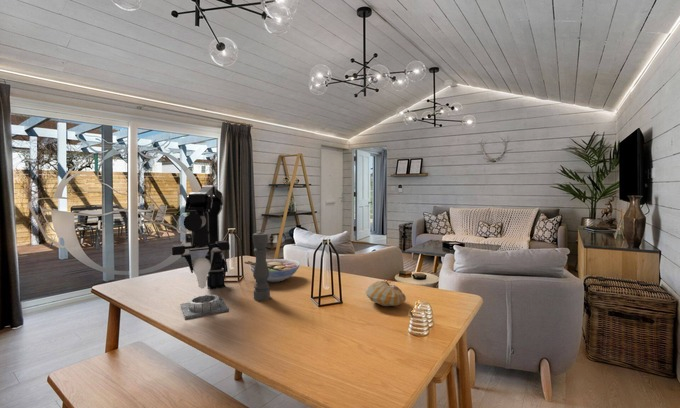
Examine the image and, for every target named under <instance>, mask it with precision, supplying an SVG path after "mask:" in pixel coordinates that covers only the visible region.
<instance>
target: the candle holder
mask: <svg viewBox="0 0 680 408" xmlns="http://www.w3.org/2000/svg"><path fill="white" fill-rule="evenodd" d="M268 233H269V232H268ZM268 233H267V232H255V233H253V234H252V243H253V246H254V249H253V253H254V254H255V262H256V263H255V262H254V263H255V268H254V273H253V272H252V274H253V279H254V280H255V284H254V285H253V288H254V289H253V300H254V301H257V302H263V301H267V300H270V298H271V288H270V284H269V283H268V281H267V279H268V277H269V270H268V266H267V262H266V260H267V252H268V248H267V246H268V242H269V238H268V237H269V234H268Z"/></svg>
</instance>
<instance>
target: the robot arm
mask: <svg viewBox="0 0 680 408" xmlns="http://www.w3.org/2000/svg"><path fill="white" fill-rule="evenodd" d="M224 200H225V199H224V196H223V193H222V192H221V191H220V190H219V189H217V187H216V185H211V184H210V185H209V184H208V185H202V186H201V189H199V190H198V191H194V192H193V191H192V192H191V191H190V192H189V193H188V195H187V196H186V199H185V205H184V206H185V207H184V213H189V214H187V215H186V216H185V218H184V219H183V226H184V228H185V229H186V230H187V231H190V232H191V233H186V234H185V236H184V237H185V238H184V240H185V241H184V242H185V244H190V245H185V244H184V243H183V244H182V243H181V244H172V245H171V246H170V252H171V253H170V254H171V255H172V256H180V257H181V258H184V259H185V261H186V263H187V265H188V267H189V270H190V273H191V274H193V273H194V271H193V267H192V265H193V260H192V255H191V253H190V252H194V251H204V250H208V251H207V253H206V255H205V256H204V258H206V259H208V260H209V261H210V264H211V268H210V270H209V272H208V275H207V280H206V287H207V288H208V289H210V290H212V289H218V288H219V289H220V288H225V287H226V284H225V274H226V273H227V272H228V270H229V267H228V262H227V261H226V258H225V255H224V252H223V251H230V249H231V247H230V246H231V245H230V242H228V241H227V240H220V220H219V219H220V218H219V217H220V213H221V212H222V210H223V206H224Z"/></svg>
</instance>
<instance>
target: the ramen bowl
mask: <svg viewBox="0 0 680 408" xmlns="http://www.w3.org/2000/svg"><path fill="white" fill-rule="evenodd" d="M266 262H267V266H268V270H269V277H268V279H267V283H268V282H269V283H280V281H281V282H283V281H284V280H286V279H289V278H291V277H292V276H293V275H294V274H295V273H297V271H298V270H299V267H300V266H301V262H300V261H298V260H295V259H290V258H289V259H287V258H273V259H266ZM255 263H256V261H255V262H253V261H250V260H248V261H244V262H243V264H244V265H245V264H246V265H249V269H250V271H251V272H252V274H253V273H254V268H255Z"/></svg>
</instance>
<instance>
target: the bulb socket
mask: <svg viewBox="0 0 680 408" xmlns="http://www.w3.org/2000/svg"><path fill="white" fill-rule="evenodd" d="M180 310H181V311H182V314H183V318H184V320H189V319H195V318H200V317H205V316H209V315H214V314H220V313H224V312H225V313H226V312H229V310H230V309H229V307H228V305H227V304H226V302H225V301H224V299H223V298H222V297H221V296H218V294H200V295H197V296H194V297H191V298H189V299H188V301H187V302H185V303H184V302H183V303H180Z"/></svg>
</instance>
